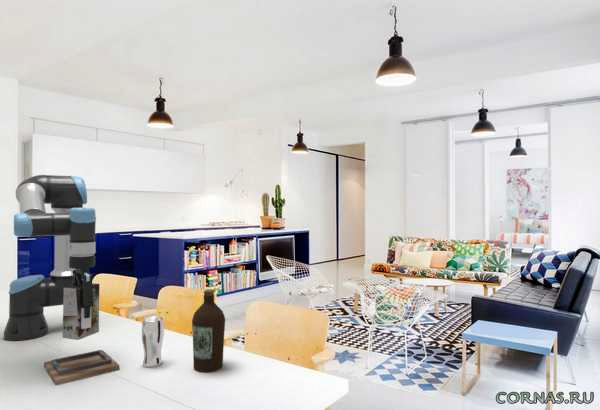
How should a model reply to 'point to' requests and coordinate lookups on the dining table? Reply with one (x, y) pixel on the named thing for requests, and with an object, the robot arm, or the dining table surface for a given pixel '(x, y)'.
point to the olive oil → (208, 335)
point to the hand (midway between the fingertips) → (81, 324)
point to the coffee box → (79, 313)
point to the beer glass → (152, 340)
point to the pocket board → (80, 366)
